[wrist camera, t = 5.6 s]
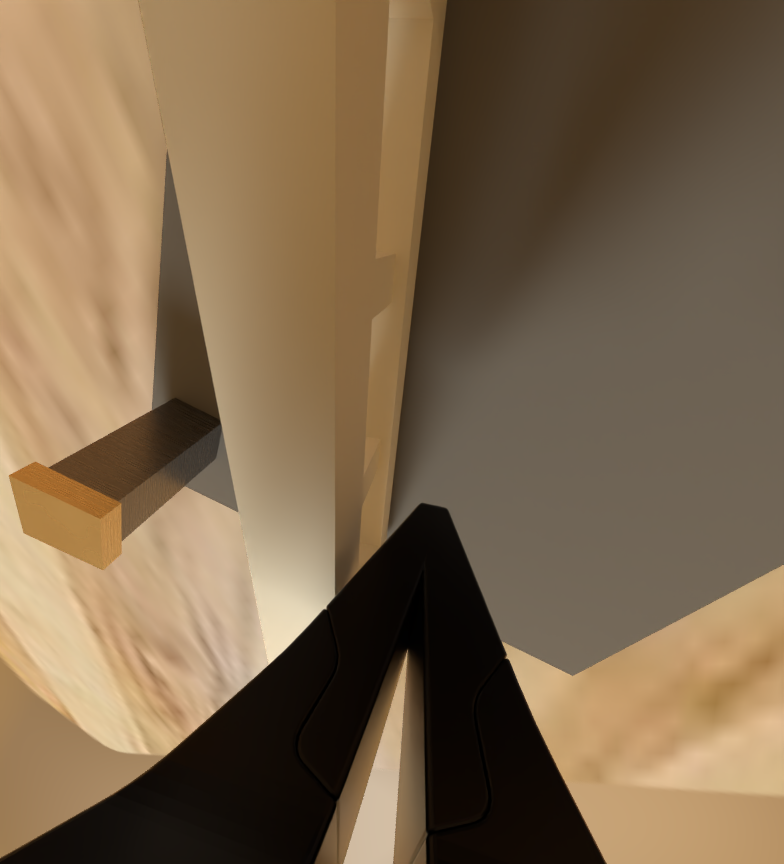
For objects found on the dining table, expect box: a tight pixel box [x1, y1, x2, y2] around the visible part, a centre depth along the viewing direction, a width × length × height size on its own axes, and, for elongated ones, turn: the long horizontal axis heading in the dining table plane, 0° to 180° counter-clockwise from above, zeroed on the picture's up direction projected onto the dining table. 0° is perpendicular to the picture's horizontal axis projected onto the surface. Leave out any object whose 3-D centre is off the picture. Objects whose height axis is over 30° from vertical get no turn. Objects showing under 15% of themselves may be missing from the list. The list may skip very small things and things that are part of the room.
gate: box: [138, 0, 447, 665], centre depth 8 cm, size 16×2×6 cm, turn 175°
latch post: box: [9, 398, 222, 570], centre depth 12 cm, size 2×2×6 cm
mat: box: [152, 0, 784, 676], centre depth 10 cm, size 22×22×1 cm
